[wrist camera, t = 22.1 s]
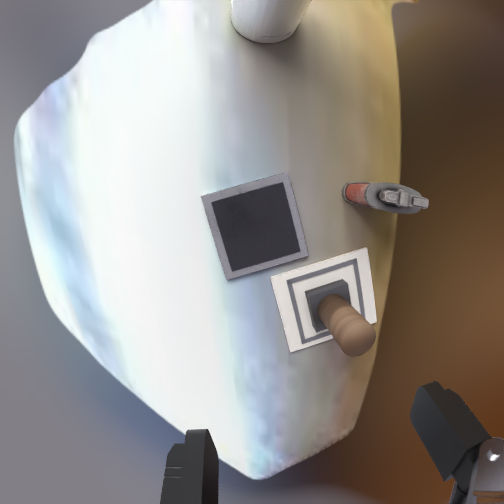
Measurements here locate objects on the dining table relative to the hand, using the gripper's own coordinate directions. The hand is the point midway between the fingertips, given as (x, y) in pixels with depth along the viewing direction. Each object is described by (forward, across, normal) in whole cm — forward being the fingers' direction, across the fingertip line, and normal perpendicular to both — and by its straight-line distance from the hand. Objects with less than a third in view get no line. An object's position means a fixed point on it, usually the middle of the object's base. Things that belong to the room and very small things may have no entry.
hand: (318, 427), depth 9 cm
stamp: (+29, -8, +12) cm, 33 cm away
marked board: (+30, -9, +12) cm, 33 cm away
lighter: (+32, -16, -3) cm, 35 cm away
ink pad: (+31, 0, 0) cm, 31 cm away
